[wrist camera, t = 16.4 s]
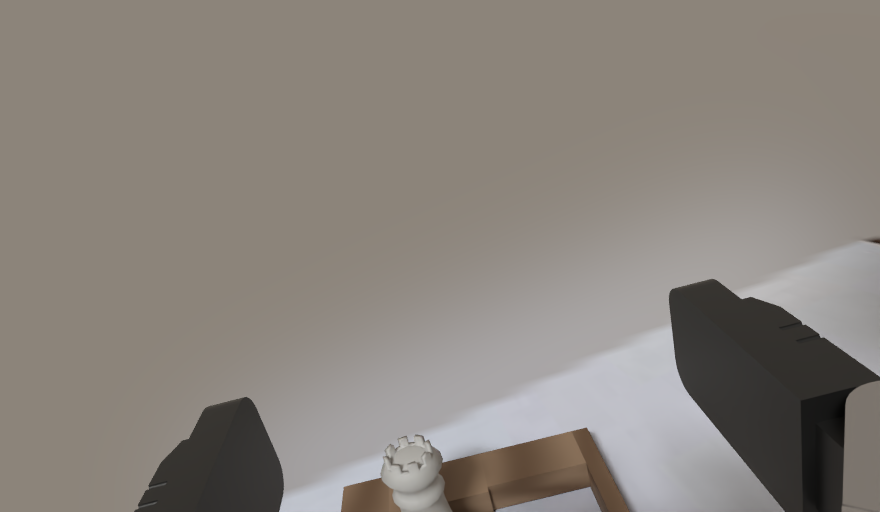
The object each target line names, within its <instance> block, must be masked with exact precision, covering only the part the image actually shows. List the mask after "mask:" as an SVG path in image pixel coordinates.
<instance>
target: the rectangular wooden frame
mask: <svg viewBox="0 0 880 512" xmlns="http://www.w3.org/2000/svg"><path fill="white" fill-rule="evenodd" d="M439 474H440V475H441V476H442V477H443V479H444V481H445V486H444V491H443V492H444V495H445V498H446V500H447V502H448V504H449V506H450V508H451V510H452V511H453V512H494V510H495V509H500V508H504V507H508V506H512V505H516V504H520V503H524V502H528V501H532V500H537V499H541V498H545V497H549V496H553V495H557V494H561V493H565V492H569V491H574V490H578V489H582V488H586V487H591V489H592V491H593V493H594V496H595V498H596V500H597V502H598V505H599V507H600V509H601V511H602V512H629V510H628V508H627V506H626V504H625V502H624V500H623V498H622V496H621V494H620V492H619V490H618V488H617V486H616V484H615V482H614V480H613V478H612V476H611V474H610V472H609V470H608V468H607V466H606V464H605V462H604V461H603V459H602V457H601V455H600V453H599V451H598V449H597V447H596V445H595V443H594V441H593V439H592V437H591V435H590V433H589V431H588V429H587V428H583V429H579V430H575V431H571V432H567V433H563V434H559V435H555V436H551V437H546V438H542V439H538V440H534V441H530V442H526V443H522V444H518V445H514V446H510V447H505V448H501V449H497V450H493V451H489V452H485V453H481V454H477V455H473V456H469V457H464V458H460V459H456V460H452V461H448V462H444V463H442V467H441V469H440V471H439ZM393 490H394V489H392V488H389V487H388V486H387V485H386V484H385V483H384V482H383V481H382V478H378V479H374V480H370V481H366V482H362V483H358V484H354V485H350V486H346V487H344V490H343V500H342V509H341V512H401V509H400V507H399V506H398V505H396V504H395V503H394V500H393V497H392V494H393Z"/></svg>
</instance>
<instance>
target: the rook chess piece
mask: <svg viewBox="0 0 880 512" xmlns="http://www.w3.org/2000/svg"><path fill="white" fill-rule="evenodd" d="M414 441H415V442H410V443H409V442H408V439H407V436H404V437H401V438H399V439H398V442H399V445H400V446H399V447H397V448H396V449H395V448H394V445H391V444H390V445H389V446H388V447H387V448H386V449H385V453H386V456H385V457H383V459H384V464H383V467H382V470H381V478H382V481H383V482H384V483H385V484H386V485H387V486H388V487H389V488H392V489H394V490H393V494H392V497H393V500H394V503H395V504H396V505H398V506H399V507H400V509H401V512H453V511H452V510H451V508H450V506H449V504H448V502H447V500H446V498H445V495H444V492H443V491H444V486H445V481H444V479H443V477H442V476H441V475H440V474H439V471H440V469H441V467H442V461H443V458H442V456H441V453H440V451H438V450H437V449H435V448H434V447H432V446H431V443H430V441H429V440H427V441H425V440H424V437H423V436H421V435H415V436H414Z"/></svg>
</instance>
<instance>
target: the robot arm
mask: <svg viewBox="0 0 880 512" xmlns="http://www.w3.org/2000/svg"><path fill="white" fill-rule="evenodd" d="M669 305H670V314H671V323H672V332H673V341H674V350H675V359H676V365H677V369H678V372H679V375H680V378H681V380H682V383H683V385H684V387H685V389H686V390H687V392H688V393H689V395H690V396H691V397H692V399H693V400H694V401H695V402H696V403H697V405H698V406H699V407H700V408H701V409H702V411H703V412H704V413H705V414H706V416H707V417H708V418H709V419H710V420H711V422H712V423H713V424H714V425H715V427H716V428H717V429H718V430H719V431H720V433H721V434H722V435H723V436H724V438H725V439H726V440H727V441H728V442H729V444H730V445H731V446H732V447H733V449H734V450H735V451H736V452H737V453H738V455H739V456H740V457H741V458H742V459H743V461H744V462H745V463H746V464H747V466H748V467H749V468H750V469H751V470H752V472H753V473H754V474H755V475H756V477H757V478H758V479H759V480H760V481H761V483H762V484H763V485H764V486H765V488H766V489H767V490H768V491H769V492H770V494H771V495H772V496H773V497H774V499H775V500H776V501H777V502H778V503H779V505H780V506H781V507H782V508H783V509H784V511H785V512H880V377H879V376H878V375H876V374H875V373H874V372H872V371H871V370H869V369H868V368H866V367H865V366H864V365H862V364H861V363H859V362H858V361H856V360H855V359H854V358H852V357H851V356H849V355H848V354H847V353H845V352H844V351H842V350H841V349H839V348H838V347H837V346H835V345H834V344H832V343H831V342H830V341H828V340H827V339H825V338H820V336H819V334H818V333H817V332H815V331H814V330H813V329H811V328H810V327H808V326H807V325H802V322H801V321H800V320H798V319H797V318H796V317H794V316H793V315H791V314H790V313H788V312H787V311H786V310H784V309H783V308H781V307H779V306H776V305H773V304H770V303H767V302H764V301H761V300H758V299H755V298H752V297H749V298H745V299H740V298H739V297H738V296H737V295H735V294H734V293H733V292H731V291H730V290H729V289H727V288H726V287H725V286H723V285H722V284H721V283H719V282H718V281H717V280H714V279H710V280H706V281H702V282H698V283H694V284H690V285H687V286H682V287H678V288H675V289H672V290H671V291H670V295H669ZM283 490H284V482H283V473H282V468H281V465H280V461H279V459H278V457H277V454H276V452H275V450H274V447H273V445H272V443H271V441H270V438H269V436H268V434H267V432H266V429H265V427H264V425H263V422H262V420H261V418H260V416H259V413H258V411H257V409H256V407H255V405H254V403H253V402H252V400H251V399H249V398H247V397H244V398H240V399H236V400H232V401H228V402H224V403H220V404H217V405H213V406H209V407H207V408H205V409H204V411H203V412H202V414H201V416H200V418H199V420H198V422H197V424H196V426H195V428H194V430H193V432H192V434H191V436H190V438H189V439H187V440H183V441H182V442H181V443H180V444H179V445H178V446H177V447H176V448H175V449H174V450H173V451H172V452H171V453H170V454H169V455H168V456H167V457H166V458H165V459H164V460H163V461H162V462H161V464H160V465H159V467H158V469H157V471H156V473H155V475H154V476H153V478H152V480H151V482H150V484H149V490H146V491H145V493H144V495H143V497H142V499H141V500H140V502H139V504H138V506H139V509H137V510H135V511H134V512H279V510H280V505H281V501H282V497H283Z"/></svg>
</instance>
